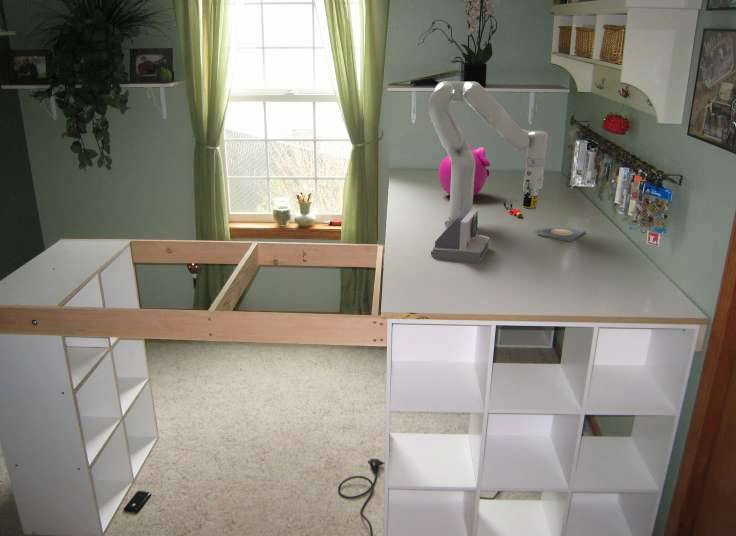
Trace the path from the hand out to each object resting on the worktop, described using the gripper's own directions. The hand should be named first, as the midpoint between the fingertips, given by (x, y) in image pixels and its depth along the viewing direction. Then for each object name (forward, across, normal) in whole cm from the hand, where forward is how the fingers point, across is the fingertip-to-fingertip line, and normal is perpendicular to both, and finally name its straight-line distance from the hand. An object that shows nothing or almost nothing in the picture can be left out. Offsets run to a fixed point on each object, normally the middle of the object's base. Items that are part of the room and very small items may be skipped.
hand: (529, 204), depth 274 cm
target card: (+10, +1, -15) cm, 18 cm away
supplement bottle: (+2, 0, 0) cm, 2 cm away
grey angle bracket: (+11, -46, +6) cm, 48 cm away
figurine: (+11, +32, +49) cm, 59 cm away
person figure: (+11, +19, +15) cm, 26 cm away
